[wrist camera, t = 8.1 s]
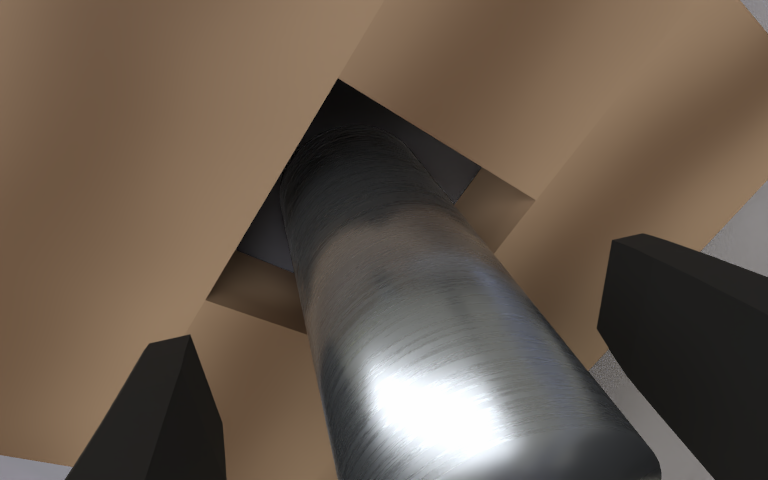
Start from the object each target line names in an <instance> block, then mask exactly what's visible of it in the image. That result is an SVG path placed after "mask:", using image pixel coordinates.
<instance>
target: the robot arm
mask: <svg viewBox="0 0 768 480" xmlns="http://www.w3.org/2000/svg"><path fill="white" fill-rule="evenodd" d="M596 329H597V330H598V332H599V333H600V335H601V337H602V338H603V340H604V341H605V343H606V345H607V346H608V348H609V350H610V351H611V353H612V354H613V356H614V357H615V359H616V360H617V362H618V363H619V365H620V366H621V368H622V369H623V371H624V372H625V374H626V375H627V377H628V378H629V379H630V380H631V382H632V383H633V384H634V385H635V386H636V388H637V389H638V390H639V391H640V392H641V394H642V395H643V396H644V397H645V398H646V400H647V401H648V402H649V403H650V404H651V405H652V407H653V408H654V409H655V410H656V411H657V413H658V414H659V415H660V416H661V417H662V418H663V420H664V421H665V422H666V423H667V424H668V425H669V427H670V428H671V429H672V430H673V431H674V432H675V434H676V435H677V436H678V437H679V438H680V439H681V441H682V442H683V443H684V444H685V445H686V446H687V448H688V449H689V450H690V451H691V452H692V453H693V455H694V456H695V457H696V458H697V459H698V460H699V462H700V463H701V464H702V465H703V466H704V467H705V469H706V470H707V471H708V472H709V473H710V474H711V476H712V477H713V478H714V479H715V480H768V277H766V276H763V275H760V274H757V273H755V272H752V271H749V270H747V269H744V268H741V267H739V266H736V265H733V264H731V263H728V262H725V261H723V260H720V259H717V258H715V257H712V256H709V255H707V254H704V253H701V252H699V251H696V250H693V249H690V248H687V247H685V246H682V245H679V244H676V243H673V242H670V241H667V240H664V239H661V238H658V237H655V236H651V235H648V234H644V233H641V234H637V235H632V236H628V237H623V238H619V239H614V240H612V243H611V248H610V254H609V260H608V265H607V271H606V277H605V283H604V288H603V294H602V300H601V306H600V311H599V317H598V323H597V328H596ZM65 480H227V478H226V461H225V447H224V434H223V423H222V420H221V417H220V415H219V412H218V409H217V406H216V404H215V401H214V398H213V395H212V393H211V390H210V387H209V384H208V382H207V379H206V376H205V373H204V371H203V368H202V365H201V362H200V360H199V357H198V354H197V351H196V349H195V346H194V343H193V340H192V338H191V335H190V334H189V335H185V336H180V337H176V338H171V339H167V340H162V341H158V342H153V343H149V344H148V346H147V347H146V348H145V350H144V351H143V353H142V354H141V356H140V358H139V359H138V361H137V363H136V365H135V366H134V368H133V370H132V371H131V373H130V375H129V377H128V378H127V380H126V382H125V383H124V385H123V387H122V388H121V390H120V392H119V394H118V395H117V397H116V399H115V400H114V402H113V404H112V405H111V407H110V409H109V410H108V412H107V414H106V415H105V417H104V419H103V420H102V422H101V424H100V425H99V427H98V428H97V430H96V431H95V433H94V435H93V436H92V438H91V439H90V441H89V443H88V444H87V446H86V447H85V449H84V450H83V452H82V454H81V455H80V457H79V458H78V460H77V461H76V463H75V465H74V466H73V468H72V469H71V471H70V472H69V474H68V475H67V477H66V479H65Z"/></svg>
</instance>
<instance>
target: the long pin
mask: <svg viewBox="0 0 768 480" xmlns="http://www.w3.org/2000/svg"><path fill="white" fill-rule="evenodd" d="M280 205H281V211H282V216H283V221H284V225H285V230H286V235H287V240H288V244H289V249H290V254H291V259H292V264H293V268H294V273H295V278H296V283H297V287H298V292H299V297H300V302H301V307H302V311H303V316H304V321H305V326H306V330H307V335H308V340H309V345H310V350H311V354H312V359H313V364H314V369H315V373H316V378H317V383H318V388H319V392H320V397H321V402H322V407H323V412H324V416H325V421H326V426H327V431H328V435H329V440H330V445H331V450H332V455H333V459H334V464H335V469H336V474H337V478H338V480H661V469H660V464H659V461H658V460H657V458H656V456H655V454H654V452H653V451H652V450H651V449H650V447H649V446H648V445H647V444H646V442H645V441H644V440H643V439H642V437H641V436H640V435H639V434H638V432H637V431H636V430H635V429H634V428H633V426H632V425H631V424H630V423H629V421H628V420H627V419H626V418H625V416H624V415H623V414H622V413H621V411H620V410H619V409H618V408H617V406H616V405H615V404H614V403H613V401H612V400H611V399H610V398H609V396H608V395H607V394H606V393H605V392H604V390H603V389H602V388H601V387H600V385H599V384H598V383H597V382H596V380H595V379H594V378H593V377H592V375H591V374H590V373H589V372H588V370H587V369H586V368H585V367H584V365H583V364H582V363H581V362H580V360H579V359H578V358H577V357H576V356H575V354H574V353H573V352H572V351H571V349H570V348H569V347H568V346H567V344H566V343H565V342H564V341H563V339H562V338H561V337H560V336H559V334H558V333H557V332H556V331H555V329H554V328H553V327H552V326H551V325H550V323H549V322H548V321H547V320H546V318H545V317H544V316H543V315H542V313H541V312H540V311H539V310H538V308H537V307H536V306H535V305H534V303H533V302H532V301H531V300H530V298H529V297H528V296H527V295H526V293H525V292H524V291H523V290H522V289H521V287H520V286H519V285H518V284H517V282H516V281H515V280H514V279H513V277H512V276H511V275H510V274H509V272H508V271H507V270H506V269H505V267H504V266H503V265H502V264H501V262H500V261H499V260H498V259H497V257H496V256H495V255H494V254H493V253H492V251H491V250H490V249H489V248H488V246H487V245H486V244H485V243H484V241H483V240H482V239H481V238H480V236H479V235H478V234H477V233H476V231H475V230H474V229H473V228H472V226H471V225H470V224H469V223H468V221H467V220H466V219H465V218H464V217H463V215H462V214H461V213H460V212H459V210H458V209H457V208H456V207H455V205H454V204H453V203H452V202H451V200H450V199H449V198H448V197H447V195H446V194H445V193H444V192H443V190H442V189H441V188H440V187H439V185H438V184H437V183H436V182H435V181H434V179H433V178H432V177H431V176H430V174H429V173H428V172H427V171H426V169H425V168H424V167H423V166H422V164H421V163H420V162H419V161H418V159H417V158H416V157H415V156H414V154H413V153H412V152H411V151H410V149H409V148H408V147H407V146H406V145H405V144H404V143H403V142H402V141H401V140H400V139H398V138H397V137H396V136H394V135H392V134H391V133H389V132H387V131H384V130H382V129H379V128H376V127H372V126H365V125H349V126H342V127H338V128H334V129H331V130H329V131H326V132H323V133H322V134H320V135H318V136H316V137H314V138H313V139H312V140H310V141H309V142H307V143H306V144H305V145H304V146H303V147H302V148H301V149H300V150H299V151H298V152H297V153H296V154H295V156H294V157H293V158H292V160H291V161H290V163H289V164H288V166H287V168H286V171H285V173H284V175H283V179H282V182H281V188H280Z"/></svg>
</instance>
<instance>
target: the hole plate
mask: <svg viewBox="0 0 768 480" xmlns="http://www.w3.org/2000/svg"><path fill="white" fill-rule="evenodd" d="M338 78H339V79H340V80H342V81H343V82H345V83H347V84H348V85H350V86H351V87H353V88H355V89H356V90H358V91H360V92H361V93H363V94H364V95H366V96H368V97H369V98H371V99H373V100H374V101H376V102H377V103H379V104H381V105H382V106H384V107H386V108H387V109H389V110H390V111H392V112H394V113H395V114H397V115H398V116H400V117H402V118H403V119H405V120H407V121H408V122H410V123H411V124H413V125H415V126H416V127H418V128H420V129H421V130H423V131H424V132H426V133H428V134H429V135H431V136H433V137H434V138H436V139H437V140H439V141H441V142H442V143H444V144H445V145H447V146H449V147H450V148H452V149H454V150H455V151H457V152H458V153H460V154H462V155H463V156H465V157H467V158H468V159H470V160H471V161H473V162H475V163H476V164H478V165H480V166H481V167H482V168H481V169H480V171H479V172H478V174H477V175H476V176H475V178H474V179H473V180H472V182H471V183H470V184H469V186H468V187H467V189H466V190H465V191H464V193H463V194H462V195H461V197H460V198H459V199H458V201H457V202H456V203H455V207H456V208H457V209H458V210H459V212H460V213H461V214H462V215H463V217H464V218H465V219H466V220H467V221H468V223H469V224H470V225H471V226H472V228H473V229H474V230H475V231H476V233H477V234H478V235H479V236H480V238H481V239H482V240H483V241H484V243H485V244H486V245H487V246H488V248H489V249H490V250H491V251H492V253H493V254H494V255H495V256H496V257H497V259H498V260H499V261H500V262H501V264H502V265H503V266H504V267H505V269H506V270H507V271H508V272H509V274H510V275H511V276H512V277H513V279H514V280H515V281H516V282H517V284H518V285H519V286H520V287H521V289H522V290H523V291H524V292H525V293H526V295H527V296H528V297H529V298H530V300H531V301H532V302H533V303H534V305H535V306H536V307H537V308H538V310H539V311H540V312H541V313H542V315H543V316H544V317H545V318H546V320H547V321H548V322H549V323H550V325H551V326H552V327H553V328H554V329H555V331H556V332H557V333H558V334H559V336H560V337H561V338H562V339H563V341H564V342H565V343H566V344H567V346H568V347H569V348H570V349H571V351H572V352H573V353H574V354H575V356H576V357H577V358H578V359H579V360H580V362H581V363H582V364H583V365H584V367H585V368H586V369H587V370H588V371H589V370H590V368H591V367H592V366H593V365H594V364H595V363H596V362H597V361H598V360H599V359H600V358H601V357H602V356H603V355H604V354H605V352H606V351H607V350H608V349H609V348H608V346H607V345H606V343H605V341H604V340H603V338H602V337H601V335H600V333H599V332H598V330H597V329H596V328H597V323H598V317H599V311H600V306H601V300H602V294H603V288H604V283H605V277H606V271H607V265H608V260H609V254H610V248H611V243H612V240H614V239H619V238H623V237H628V236H632V235H637V234H641V233H644V234H648V235H651V236H655V237H658V238H661V239H664V240H667V241H670V242H673V243H676V244H679V245H682V246H685V247H687V248H690V249H693V250H696V251H699V252H700V251H701V250H702V249H703V248H704V247H705V246H706V245H707V244H708V243H709V242H710V241H711V239H712V238H713V237H714V236H715V235H716V234H717V233H718V232H719V231H720V230H721V229H722V228H723V227H724V226H725V225H726V223H727V222H728V221H729V220H730V219H731V218H732V217H733V216H734V215H735V214H736V213H737V212H738V211H739V210H740V209H741V208H742V206H743V205H744V204H745V203H746V202H747V201H748V200H749V199H750V198H751V197H752V196H753V195H754V194H755V193H756V192H757V190H758V189H759V188H760V187H761V186H762V185H763V184H764V183H765V182H766V181H767V180H768V33H767V32H766V31H765V30H764V29H763V27H762V26H761V25H760V24H759V23H758V21H757V20H756V19H755V18H754V17H753V15H752V14H751V13H750V12H749V11H748V9H747V8H746V7H745V6H744V5H743V3H742V2H741V1H740V0H0V455H4V456H10V457H16V458H22V459H28V460H34V461H40V462H46V463H52V464H58V465H64V466H70V467H73V466H74V465H75V463H76V461H77V460H78V458H79V457H80V455H81V454H82V452H83V450H84V449H85V447H86V446H87V444H88V443H89V441H90V439H91V438H92V436H93V435H94V433H95V431H96V430H97V428H98V427H99V425H100V424H101V422H102V420H103V419H104V417H105V415H106V414H107V412H108V410H109V409H110V407H111V405H112V404H113V402H114V400H115V399H116V397H117V395H118V394H119V392H120V390H121V388H122V387H123V385H124V383H125V382H126V380H127V378H128V377H129V375H130V373H131V371H132V370H133V368H134V366H135V365H136V363H137V361H138V359H139V358H140V356H141V354H142V353H143V351H144V350H145V348H146V347H147V346H148V344H149V343H153V342H158V341H162V340H167V339H171V338H176V337H180V336H185V335H189V334H190V335H191V338H192V340H193V343H194V346H195V349H196V351H197V354H198V357H199V360H200V362H201V365H202V368H203V371H204V373H205V376H206V379H207V382H208V384H209V387H210V390H211V393H212V395H213V398H214V401H215V404H216V406H217V409H218V412H219V415H220V417H221V420H222V423H223V434H224V447H225V461H226V478H227V480H338V478H337V474H336V469H335V464H334V459H333V455H332V450H331V445H330V440H329V435H328V431H327V426H326V421H325V416H324V412H323V407H322V402H321V397H320V392H319V388H318V383H317V378H316V373H315V369H314V364H313V359H312V354H311V350H310V345H309V340H308V335H307V330H306V326H305V321H304V316H303V311H302V307H301V302H300V297H299V292H298V287H297V283H296V278H295V273H292V272H290V271H287V270H284V269H282V268H279V267H277V266H274V265H272V264H269V263H267V262H264V261H262V260H259V259H257V258H254V257H252V256H249V255H247V254H244V253H241V252H239V251H236V250H235V249H236V248H237V246H238V244H239V243H240V241H241V239H242V238H243V236H244V234H245V233H246V231H247V229H248V228H249V226H250V224H251V223H252V221H253V219H254V218H255V216H256V214H257V213H258V211H259V209H260V208H261V206H262V204H263V203H264V201H265V199H266V198H267V196H268V194H269V193H270V191H271V189H272V187H273V186H274V184H275V182H276V181H277V179H278V177H279V176H280V174H281V172H282V171H283V169H284V167H285V166H286V164H287V162H288V161H289V159H290V157H291V156H292V154H293V152H294V151H295V149H296V147H297V146H298V144H299V142H300V141H301V139H302V137H303V136H304V134H305V132H306V131H307V129H308V127H309V126H310V124H311V122H312V121H313V119H314V117H315V116H316V114H317V112H318V110H319V109H320V107H321V105H322V104H323V102H324V100H325V99H326V97H327V95H328V94H329V92H330V90H331V89H332V87H333V85H334V84H335V82H336V80H337V79H338Z"/></svg>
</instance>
